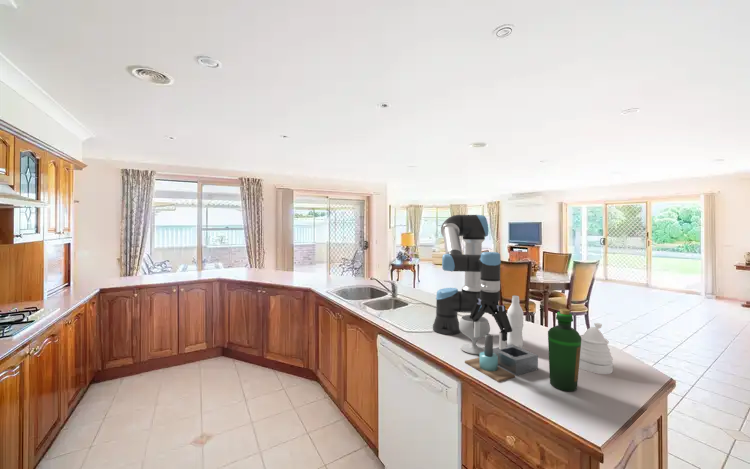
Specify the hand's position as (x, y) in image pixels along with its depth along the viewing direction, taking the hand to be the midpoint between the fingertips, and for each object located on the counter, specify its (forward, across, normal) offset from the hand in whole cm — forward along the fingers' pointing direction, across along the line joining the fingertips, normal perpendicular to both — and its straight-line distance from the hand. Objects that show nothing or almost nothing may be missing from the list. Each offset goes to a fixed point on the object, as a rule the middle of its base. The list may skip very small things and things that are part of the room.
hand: (489, 342), depth 125 cm
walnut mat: (+11, 0, 0) cm, 11 cm away
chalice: (+11, -18, +9) cm, 23 cm away
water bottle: (+11, -12, +29) cm, 33 cm away
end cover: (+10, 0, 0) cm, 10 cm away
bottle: (+11, +21, +15) cm, 28 cm away
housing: (+11, +2, +12) cm, 16 cm away
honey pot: (+11, +16, +42) cm, 46 cm away
